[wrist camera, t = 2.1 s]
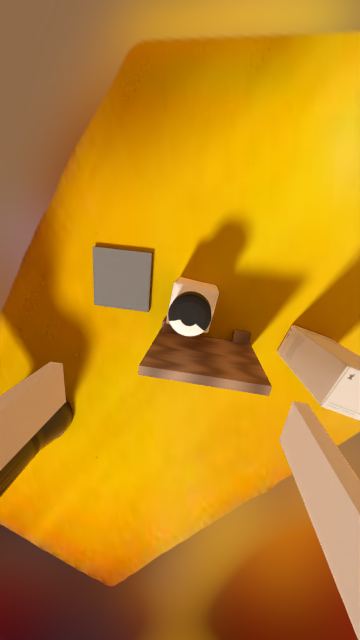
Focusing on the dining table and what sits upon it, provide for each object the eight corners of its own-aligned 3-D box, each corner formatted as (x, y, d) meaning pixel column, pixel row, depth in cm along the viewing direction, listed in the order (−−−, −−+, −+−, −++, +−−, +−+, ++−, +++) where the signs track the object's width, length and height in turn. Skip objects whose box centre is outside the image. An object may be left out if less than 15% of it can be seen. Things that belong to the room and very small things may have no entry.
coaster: (96, 303, 41) (94, 304, 41) (94, 246, 38) (92, 246, 37) (149, 310, 41) (148, 312, 40) (152, 253, 37) (151, 253, 36)
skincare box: (275, 351, 40) (316, 407, 25) (292, 321, 38) (348, 363, 23) (315, 366, 40) (379, 431, 25) (334, 337, 38) (417, 390, 23)
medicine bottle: (179, 276, 38) (168, 285, 27) (217, 285, 38) (222, 298, 26) (171, 312, 40) (158, 335, 29) (207, 320, 40) (208, 347, 28)
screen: (158, 346, 43) (137, 388, 30) (160, 319, 41) (139, 350, 28) (245, 359, 41) (265, 409, 28) (252, 332, 39) (276, 371, 26)
